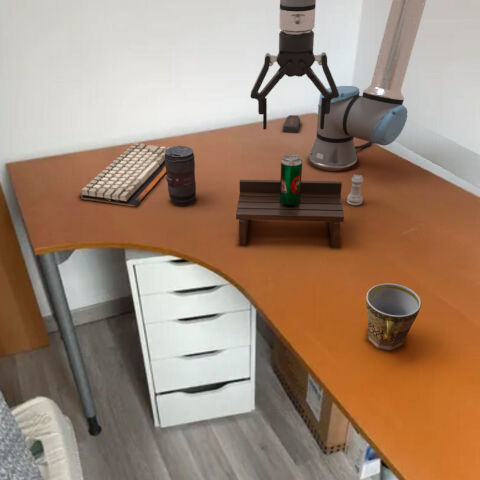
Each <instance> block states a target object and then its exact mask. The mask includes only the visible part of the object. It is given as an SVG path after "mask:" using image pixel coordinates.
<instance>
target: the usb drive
mask: <svg viewBox="0 0 480 480" xmlns="http://www.w3.org/2000/svg"><path fill="white" fill-rule="evenodd" d="M300 124H301V118H300V116H299V115H294V114H293V115H292V114H290V115H288V116H287V117H286V118H285V120H284V124H283V127H282V132H283V133H298V132H299V128H300Z"/></svg>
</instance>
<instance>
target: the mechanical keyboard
mask: <svg viewBox="0 0 480 480" xmlns="http://www.w3.org/2000/svg"><path fill="white" fill-rule="evenodd" d="M170 147H171V146H169V147H168V146H167V147H166V146H159V145H152V144H146V143H138V142H134V143H133V144H132V145H130V146H129V148H127V149H126V150H125V149H124V152H122V153H121V154H120V155H118V156H117V157H116V158H115V159H114V160H113V161H112V163H110V164H109V165H108V166H106V167H105V169H103V170H102V171H101V172H100V173H98V174H97V176H94V178H93V179H92V180H90V181H89V183H87V184H86V185H85V186H84V187H82V188H81V193H80V194H79V197H80V199H81V200H84V201H91V202H92V201H94V202H97V203H98V202H99V203H106V204H112V205H118V206H119V205H120V206H126V207H133V208H136V207H138V205H139V204H140V203H141V201H143V200H144V199H145V198H146V196H147V195H149V193H150V192H151V190H152V189H153V188H154V187H155V186H156V185H157V184H158V182H159V181H160V180H161V179H162V178H163V177H164V176H165V175H166V174H167V171H166V167H165V150H166V149H168V148H170Z"/></svg>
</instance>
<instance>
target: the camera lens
mask: <svg viewBox="0 0 480 480" xmlns="http://www.w3.org/2000/svg"><path fill="white" fill-rule="evenodd" d="M169 147H170V148H168V147H167V148H168V149H166V150H165V167H166V171H167V172H166V174H165V179H166V183H167V191H168V196H169V198H170V200H171V203H172V204H173V205H175V206H182V207H183V206H188V205H191V204H193V203H194V202H195V200H196V195H197V192H196V191H197V184H196V183H197V181H196V173H195V171H196V170H195V169H196V163H195V162H196V161H195V154H194V150H193V148H191V147H190V146H184V145H174V146H169Z"/></svg>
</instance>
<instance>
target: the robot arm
mask: <svg viewBox="0 0 480 480" xmlns="http://www.w3.org/2000/svg"><path fill="white" fill-rule="evenodd" d="M316 2H317V0H279V13H278V14H279V15H278V16H279V18H278V19H279V20H278V21H279V25H278V27H279V29H280V31H279V33H278V54H277V55H275V54H270V53H269V52H267V53H265V56H264V62H263V65H262V67H261V70H260V72H259V73H258V76H257V78H256V80H255V82H254V85H253V86H252V89H251V91H250V98H251V99H253V100H256V101H257V103H258V105H257V111H258V115H262V120H263V121H262V129H263V130H267V127H268V125H267V123H268V122H267V121H268V120H267V119H268V116H267V115H268V113H267V112H268V111H267V108H268V106H267V105H268V102H267V101H268V99H267V96H268V95H269V94H270V92H271V91H272V90H273V89H274V88H275V87H276V85H277V84H278V83H279V82H280V80H282V79H283V78H284V77H285V76H286V77H288V78H291V77H292V78H293V77H297V78H299V77H300V78H301V77H303V76H306V77H307V78H308V79H309V80H310V82H312V84H313V85H314V86H315V87H316V89H317V90H318V91H319V93H320V94H319V99H318V105H317V107H318V108H317V121H316V122H317V124H316V137H315V140H314V143H313V145H312V146H311V150H310V152H309V156H308V163H309V164H310V165H311V167H314V168H315V169H318V170H321V171H325V172H344V171H350V170H351V169H353V168H355V167H356V165H357V164H358V163H357V162H358V155H357V151H356V150H359V149H364V148H367V147H368V146H370V145H375V144H376V145H379V146H389V145H391V144H392V143H394V142H395V140H397V138H398V137H400V135H401V133H402V131H403V130H404V128H405V126H406V123H407V120H408V109H407V107H405V105H404V100H405V97H404V95H403V93H402V87H403V84H404V81H405V77H406V73H407V70H408V67H409V63H410V60H411V56H412V54H413V53H412V52H413V49H414V45H415V42H416V38H417V34H418V31H419V27H420V23H421V20H422V17H423V13H424V10H425V6H426V4H427V0H391V3H390V7H389V11H388V15H387V18H386V23H385V27H384V31H383V35H382V39H381V42H380V47H379V51H378V55H377V57H376V62H375V66H374V70H373V74H372V78H371V81H370V85H369V86H368V87H366V88H364V89H363V91H362V95H360V93H361V91H360V88H359V87H358V86H354V85H336V82H335V80H334V77H333V75H332V72H331V70H330V66H329V64H328V56H327V52H326V51H325V52H324V51H323V52H321V54H314V45H315V44H314V42H315V32H314V28H315V25H316V23H315V22H316V4H317V3H316ZM315 62H317V64H318V65H319V66H321V68H322V71H323V74H324V77H325V78H326V81H327V83H328V85H329V87H328V88H327V87H326V86H325V85H324V83H323V82H322V81H321V80H320V78H319V77H318V75H317V74H316V73H315V72H314V70H313V69H312V68H311V67H312V66H313V65H314V63H315ZM275 63H277V65H278V66H279V67H278V69H277V70H276V72H275V73H274V75H273V76H272V77H271V79H270V80H269V81H268V82H267V84H266V85H265V86H264V87H263V88H262V89H261V91H260V88H261V87H262V84H263V82H264V80H265V78H266V76H267V74H268V72H269V69H270V67H272V66H274V64H275ZM259 91H260V92H259ZM354 138H355V139H359V140H362V141H366V143H364V144H361V145H355V141H354Z"/></svg>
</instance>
